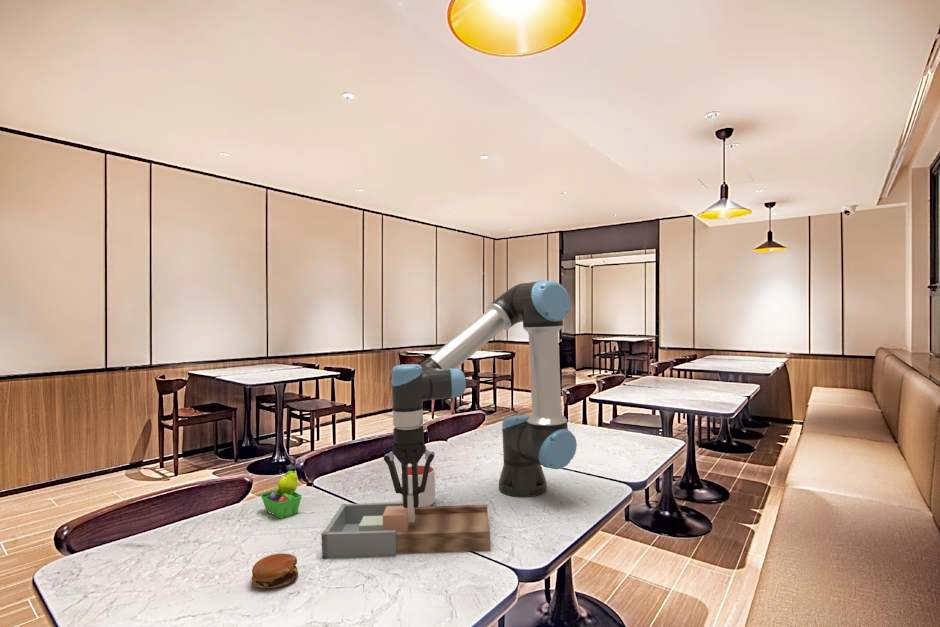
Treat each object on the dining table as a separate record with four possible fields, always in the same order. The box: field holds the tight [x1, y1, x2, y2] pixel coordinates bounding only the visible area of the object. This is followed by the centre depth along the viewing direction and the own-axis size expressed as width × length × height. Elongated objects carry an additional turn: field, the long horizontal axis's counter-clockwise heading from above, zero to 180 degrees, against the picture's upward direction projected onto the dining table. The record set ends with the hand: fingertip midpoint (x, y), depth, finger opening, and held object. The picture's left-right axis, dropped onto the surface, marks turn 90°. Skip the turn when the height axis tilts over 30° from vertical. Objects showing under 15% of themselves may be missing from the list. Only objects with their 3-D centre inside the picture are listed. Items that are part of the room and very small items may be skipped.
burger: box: [251, 553, 299, 589], centre depth 109 cm, size 10×9×5 cm
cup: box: [400, 464, 436, 507], centre depth 151 cm, size 10×10×10 cm
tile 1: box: [359, 516, 383, 531], centre depth 128 cm, size 6×6×4 cm
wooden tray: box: [396, 504, 491, 555], centre depth 128 cm, size 22×17×4 cm
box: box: [321, 501, 403, 559], centre depth 128 cm, size 17×19×6 cm
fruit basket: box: [260, 470, 303, 519], centre depth 148 cm, size 11×9×11 cm
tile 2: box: [383, 506, 410, 531], centre depth 128 cm, size 6×6×4 cm
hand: (411, 520), depth 128 cm, fingers closed
